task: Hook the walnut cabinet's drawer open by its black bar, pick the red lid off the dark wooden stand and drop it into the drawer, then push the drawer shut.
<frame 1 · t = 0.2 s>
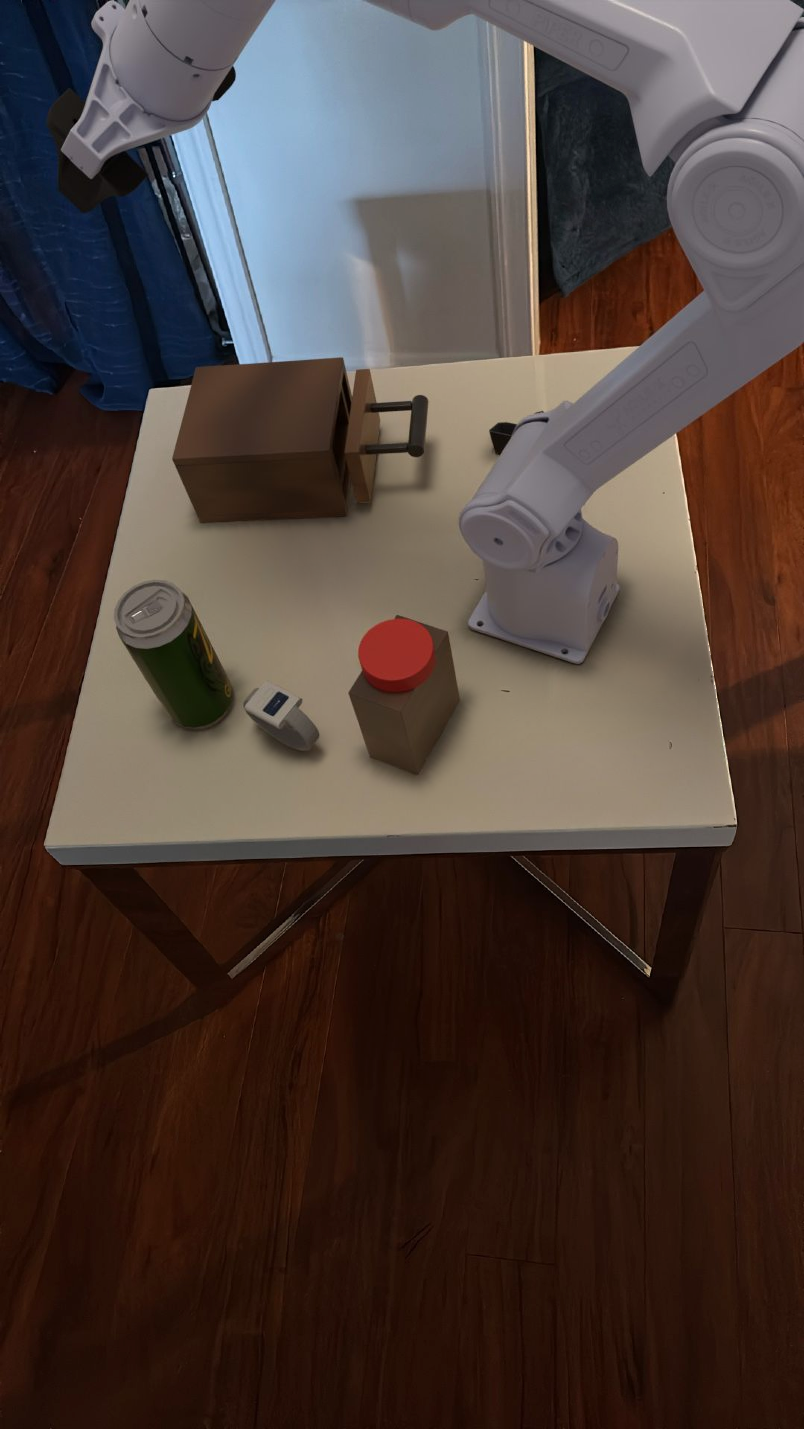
hand: (109, 161, 65), 31 cm above the table, tool tilted 50°, fingers open, 7 cm apart
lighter: (536, 466, 89), on the table
lid: (398, 661, 69), point 8 cm above the table, touching stand
drawer: (329, 437, 89), point 4 cm above the table, slide at 1.0 cm
beer can: (202, 704, 81), on the table
stand: (415, 727, 77), on the table
cabinet: (281, 472, 93), on the table
wristwatch: (289, 739, 78), on the table
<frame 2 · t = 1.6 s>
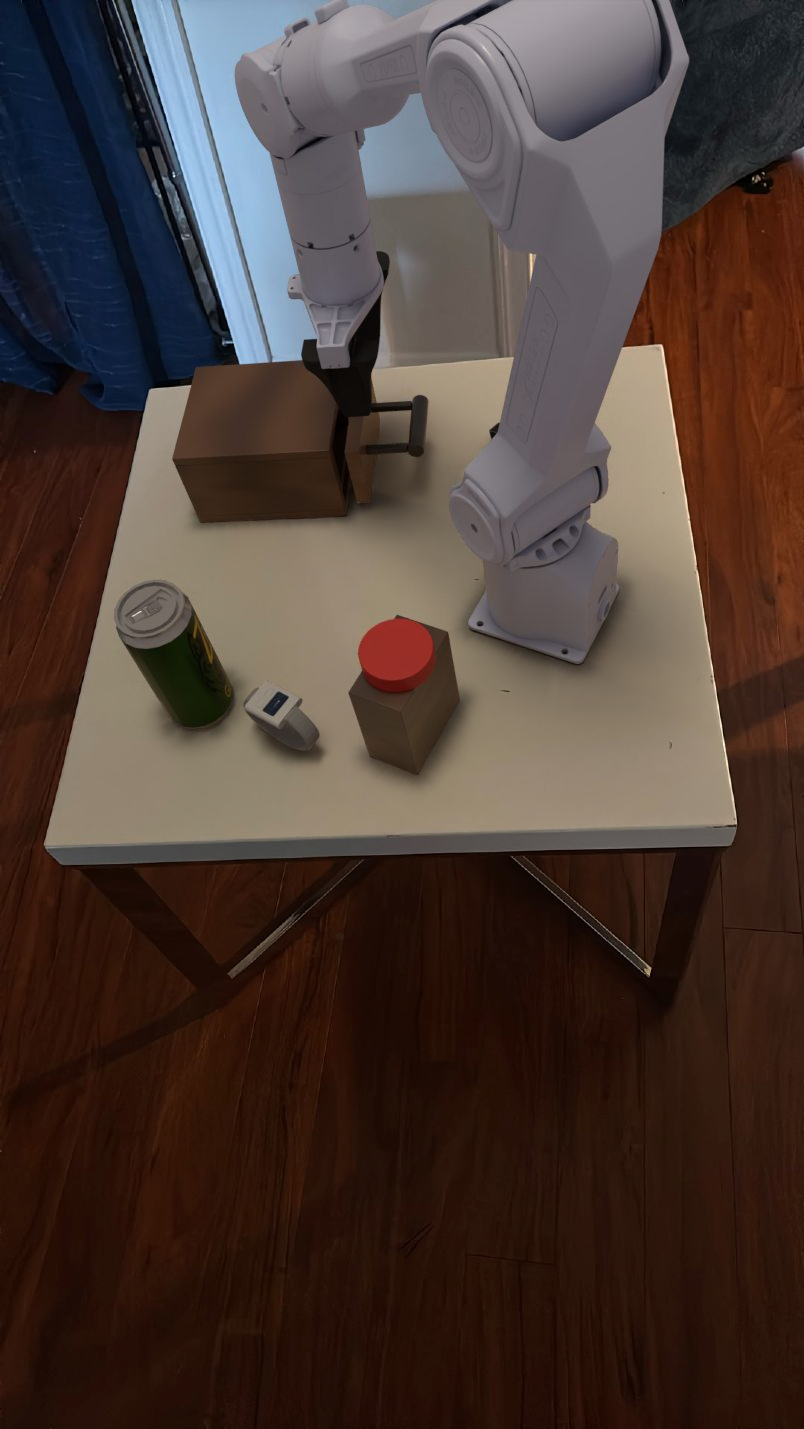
hand: (362, 379, 83), 10 cm above the table, tool pointing down, fingers open, 7 cm apart
nothing on the table moved.
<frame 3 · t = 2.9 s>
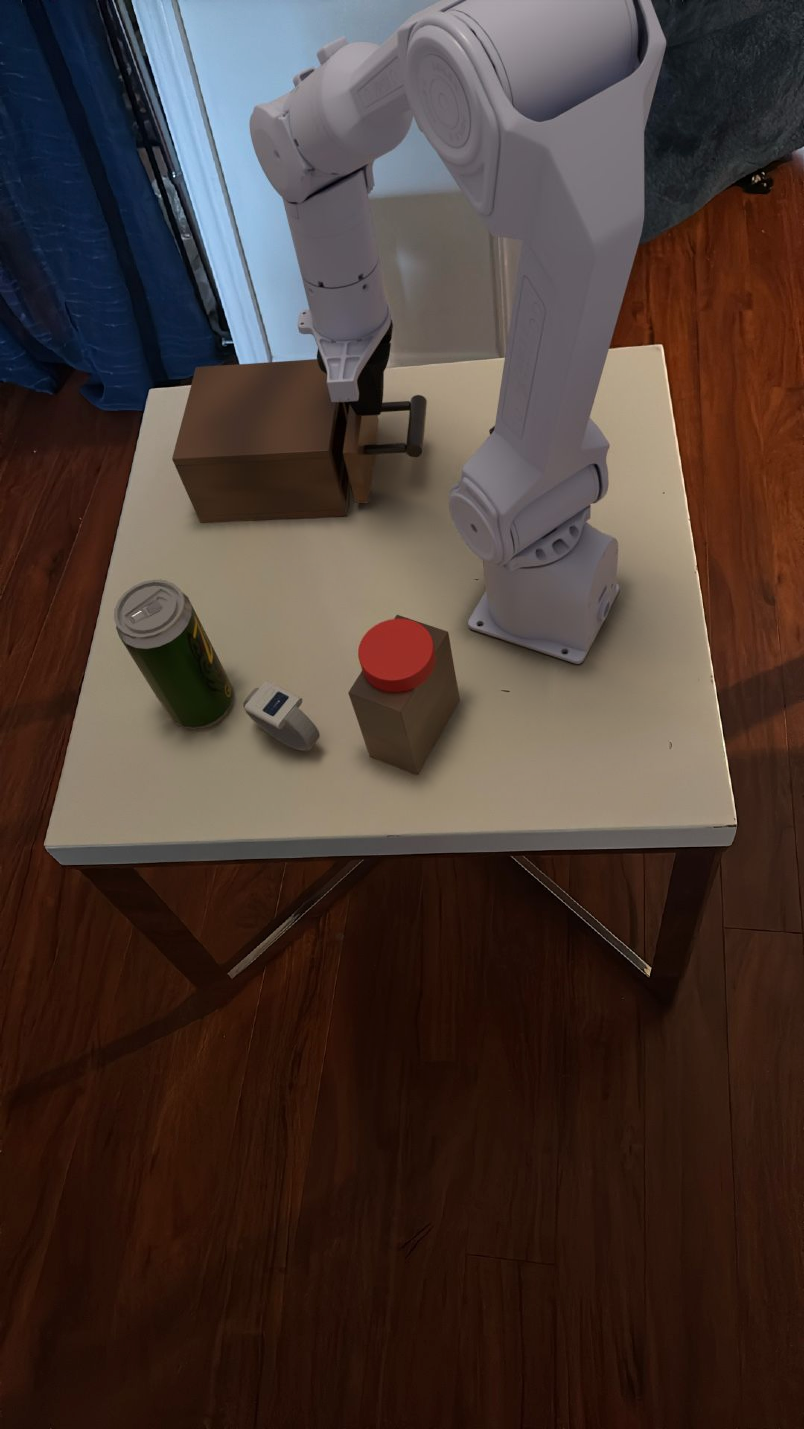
hand: (369, 409, 86), 7 cm above the table, tool pointing down, fingers closed, pressing on drawer
drawer: (327, 437, 89), point 4 cm above the table, slide at 0.9 cm, touching gripper
everything else where it was.
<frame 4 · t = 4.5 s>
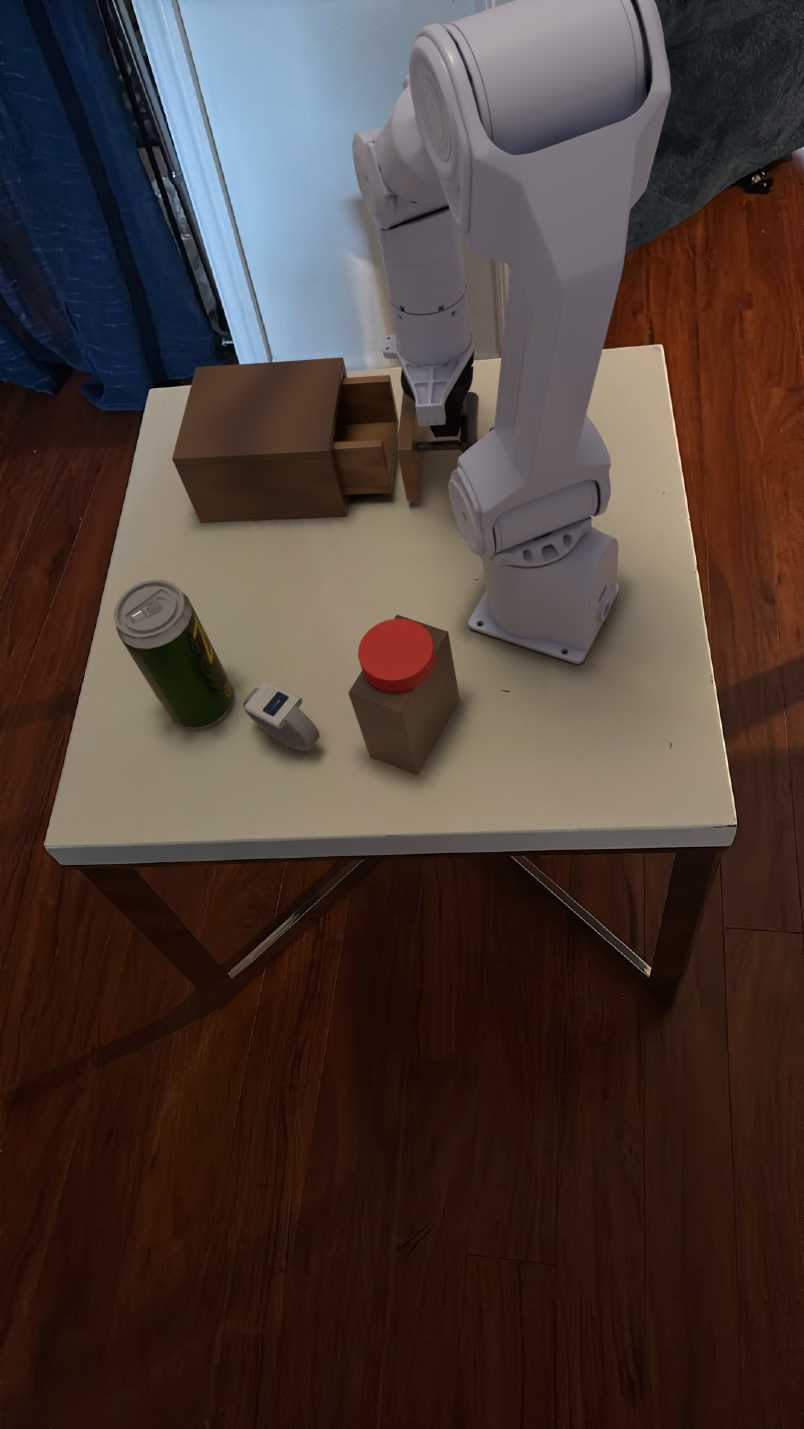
hand: (446, 431, 87), 4 cm above the table, tool pointing down, fingers closed, pressing on drawer
drawer: (378, 434, 88), point 4 cm above the table, slide at 5.3 cm, touching gripper
everything else where it was.
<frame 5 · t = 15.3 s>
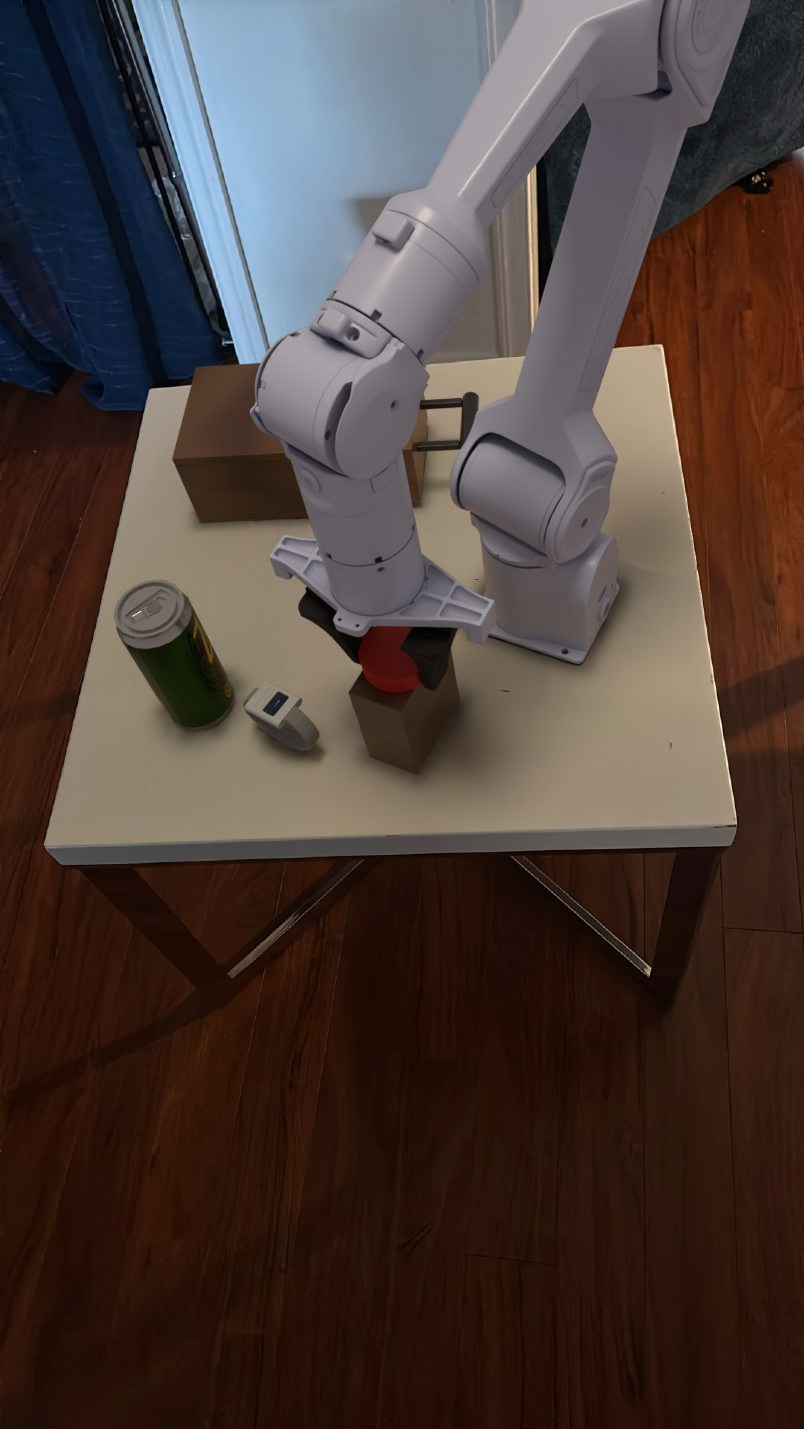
hand: (399, 665, 70), 8 cm above the table, tool pointing down, fingers closed on lid, 5 cm apart
lid: (399, 661, 69), point 9 cm above the table, touching gripper, stand
drawer: (378, 434, 88), point 4 cm above the table, slide at 5.3 cm
everything else where it was.
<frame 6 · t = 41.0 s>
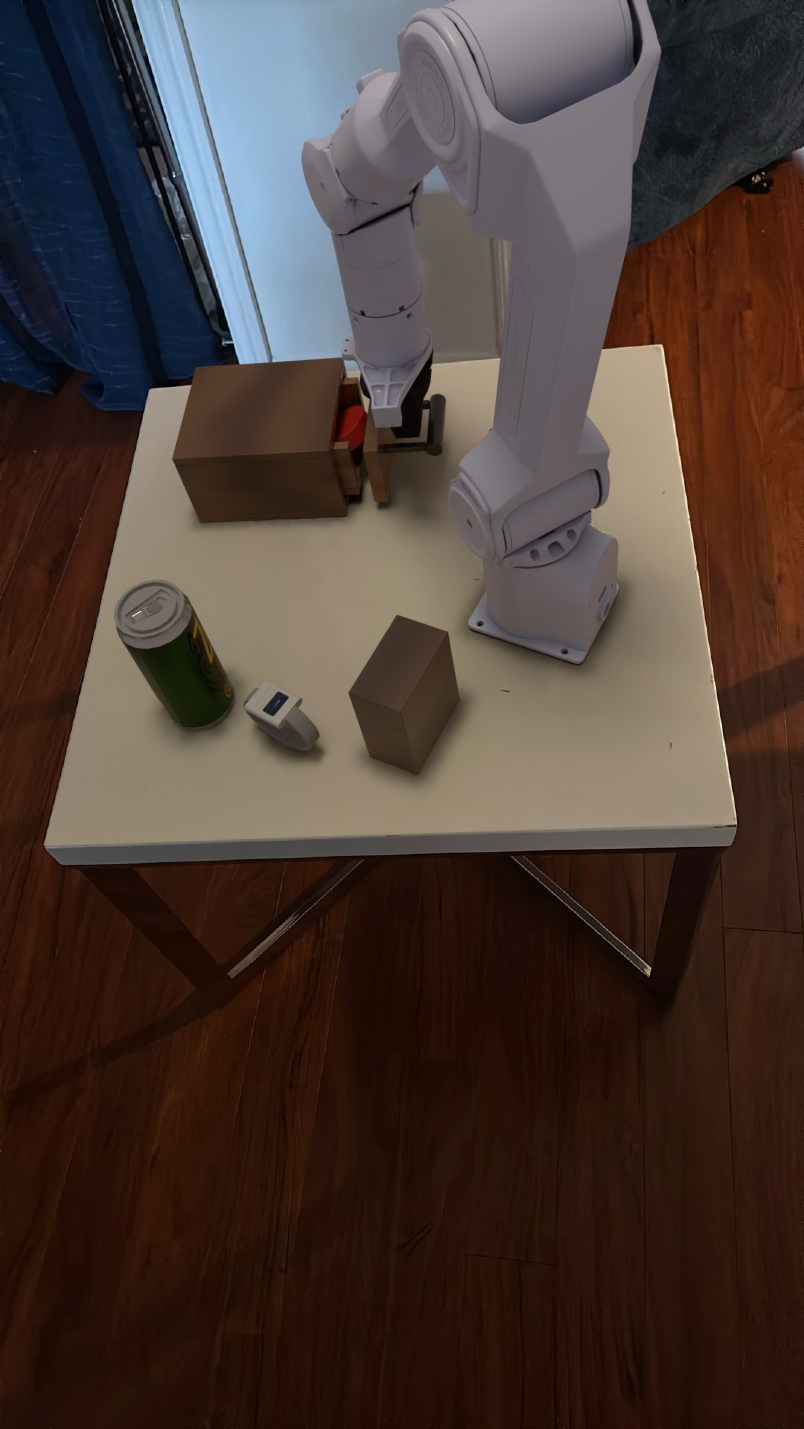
hand: (408, 432, 88), 4 cm above the table, tool pointing down, fingers closed, pressing on drawer
lid: (349, 439, 89), point 3 cm above the table, tilted 29°, touching drawer
drawer: (346, 436, 89), point 4 cm above the table, slide at 2.5 cm, touching gripper, lid
everything else where it was.
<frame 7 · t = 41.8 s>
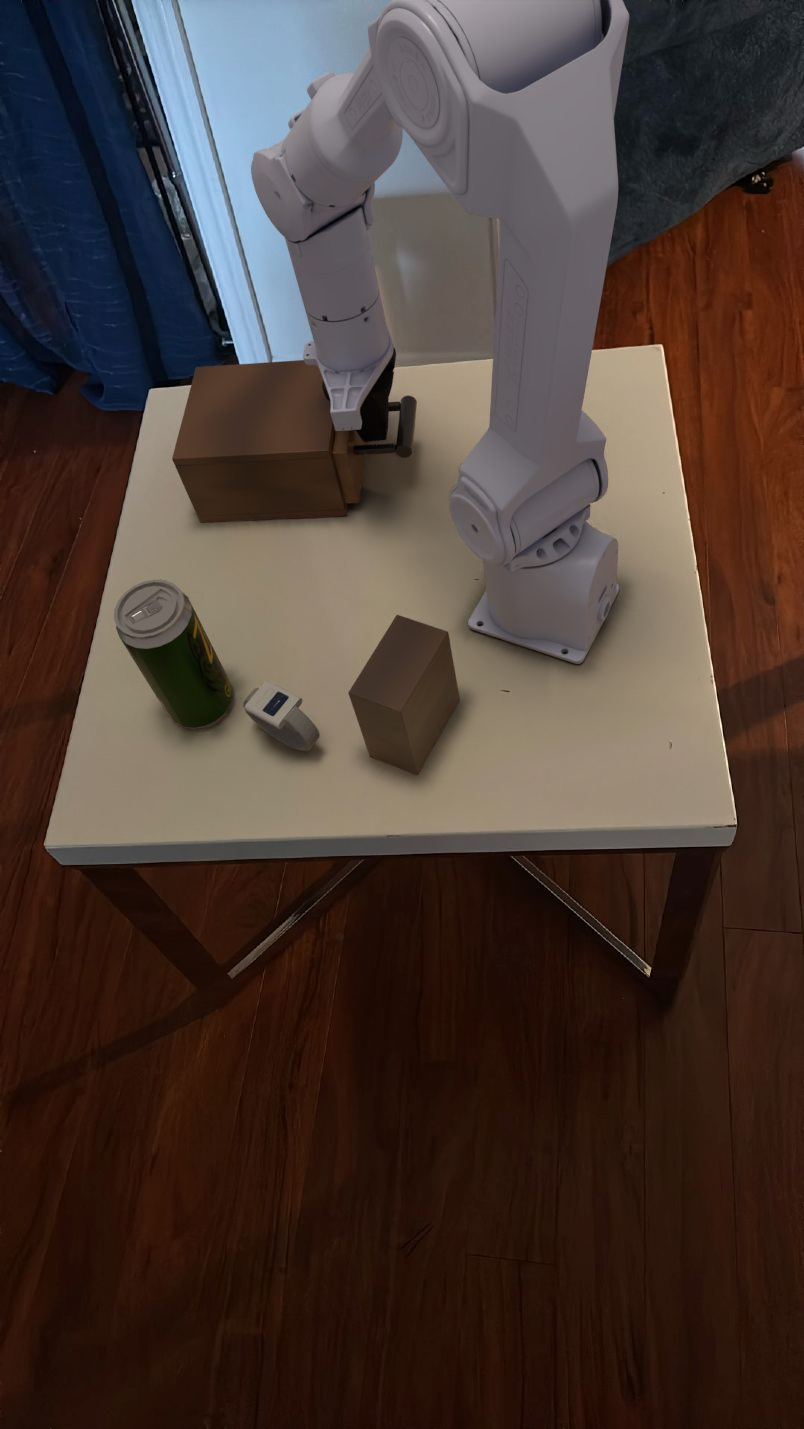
hand: (375, 435, 88), 4 cm above the table, tool pointing down, fingers closed, pressing on drawer
lid: (321, 441, 90), point 3 cm above the table, tilted 28°, touching drawer
drawer: (317, 438, 89), point 4 cm above the table, slide at 0.0 cm, touching cabinet, gripper, lid
everything else where it was.
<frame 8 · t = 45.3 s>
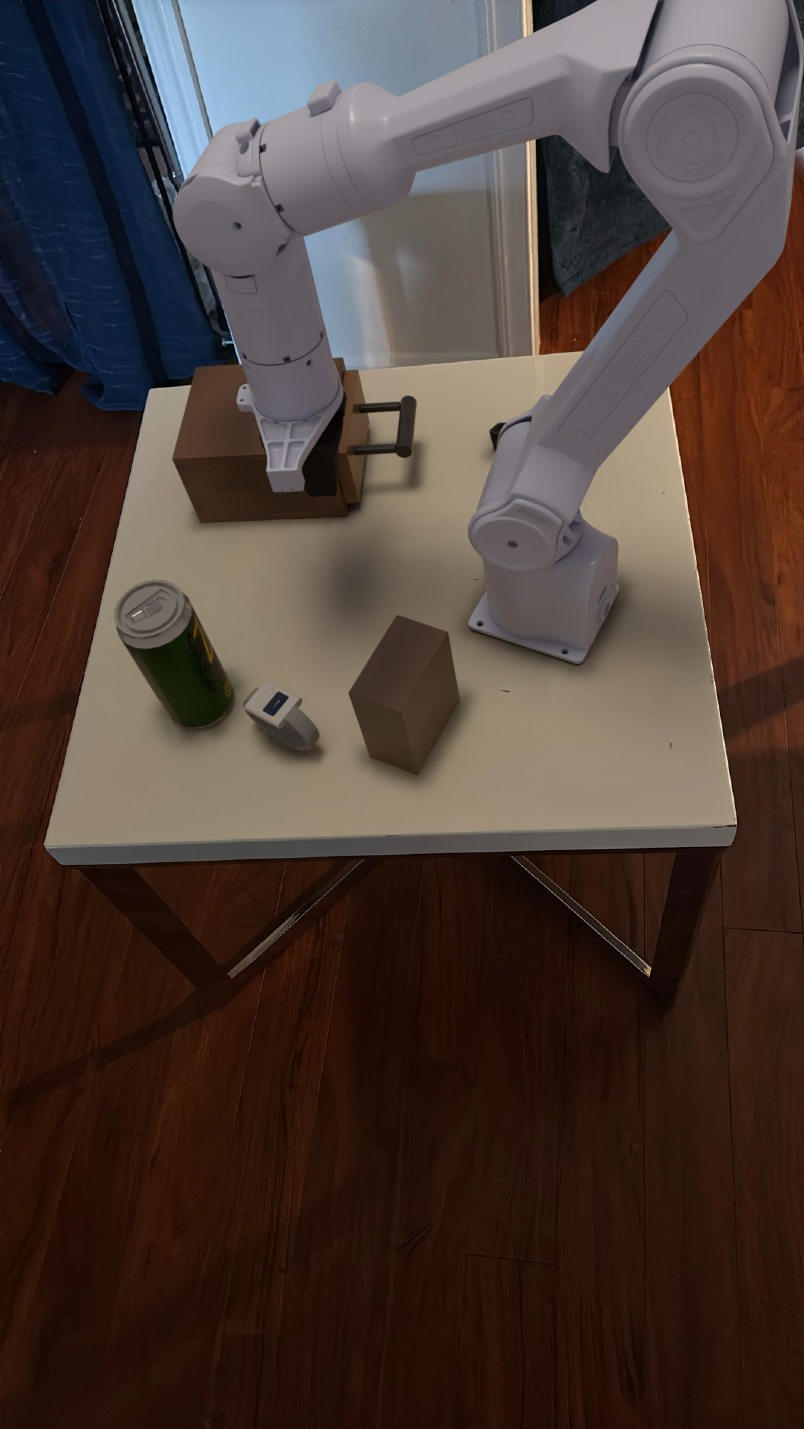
hand: (323, 489, 76), 10 cm above the table, tool pointing down, fingers closed
drawer: (318, 438, 89), point 4 cm above the table, slide at 0.0 cm, touching cabinet, lid
everything else where it was.
at the end: drawer pulled out 5.3 cm at the most during the clip, back to where it started at the end; lid inside the target area in the cabinet (4.3 cm from its centre), point 3.1 cm above the cabinet's base; drawer slide at 0.0 cm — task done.
